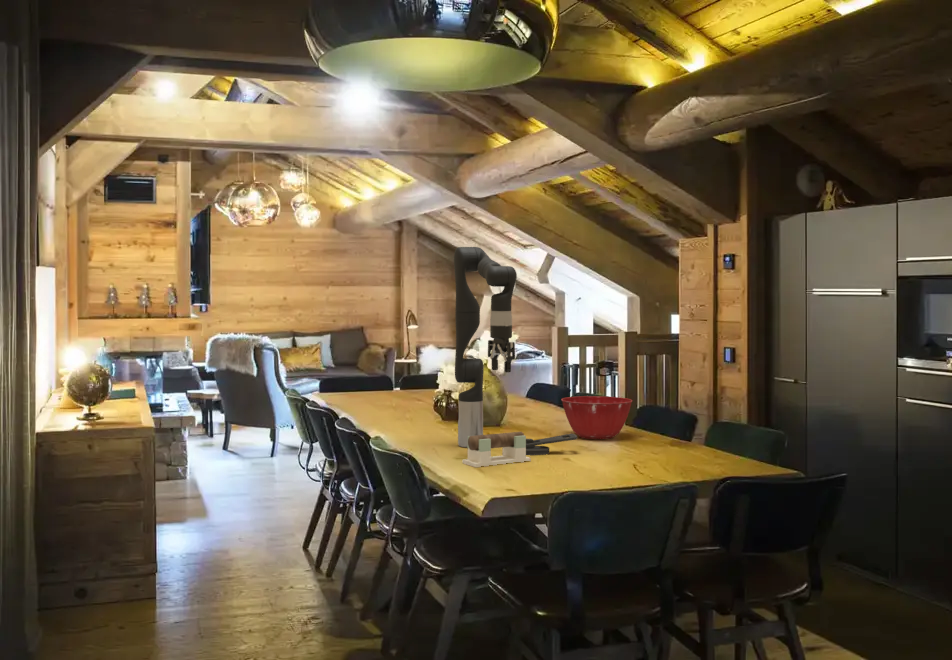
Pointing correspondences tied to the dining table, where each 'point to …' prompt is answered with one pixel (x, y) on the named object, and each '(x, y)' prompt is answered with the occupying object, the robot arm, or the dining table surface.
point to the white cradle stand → (508, 456)
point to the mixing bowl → (596, 415)
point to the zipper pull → (543, 450)
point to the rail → (494, 440)
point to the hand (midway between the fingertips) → (501, 371)
